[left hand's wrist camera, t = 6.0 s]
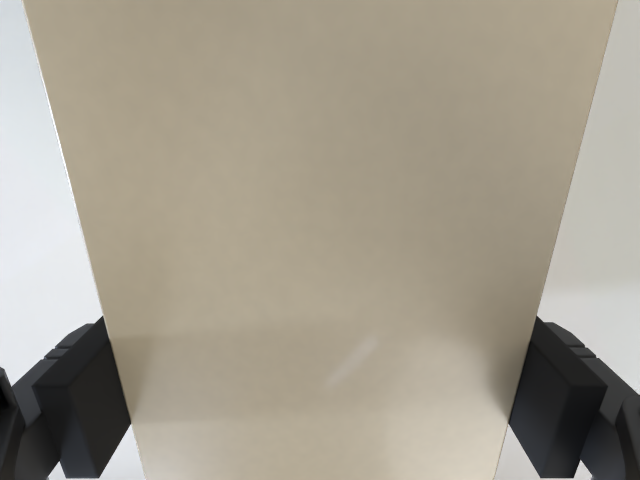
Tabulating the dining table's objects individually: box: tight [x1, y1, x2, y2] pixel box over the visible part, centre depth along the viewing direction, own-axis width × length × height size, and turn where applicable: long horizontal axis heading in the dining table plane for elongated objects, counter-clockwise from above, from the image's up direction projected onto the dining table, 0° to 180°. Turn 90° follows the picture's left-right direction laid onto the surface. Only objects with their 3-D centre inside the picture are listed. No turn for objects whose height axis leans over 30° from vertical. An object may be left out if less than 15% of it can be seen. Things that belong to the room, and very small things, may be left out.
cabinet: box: [21, 0, 618, 480], centre depth 12 cm, size 20×10×11 cm, turn 0°
